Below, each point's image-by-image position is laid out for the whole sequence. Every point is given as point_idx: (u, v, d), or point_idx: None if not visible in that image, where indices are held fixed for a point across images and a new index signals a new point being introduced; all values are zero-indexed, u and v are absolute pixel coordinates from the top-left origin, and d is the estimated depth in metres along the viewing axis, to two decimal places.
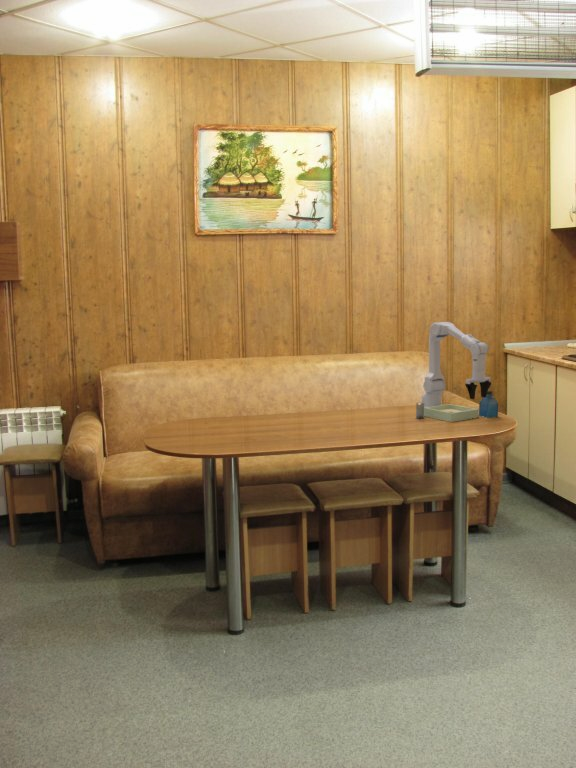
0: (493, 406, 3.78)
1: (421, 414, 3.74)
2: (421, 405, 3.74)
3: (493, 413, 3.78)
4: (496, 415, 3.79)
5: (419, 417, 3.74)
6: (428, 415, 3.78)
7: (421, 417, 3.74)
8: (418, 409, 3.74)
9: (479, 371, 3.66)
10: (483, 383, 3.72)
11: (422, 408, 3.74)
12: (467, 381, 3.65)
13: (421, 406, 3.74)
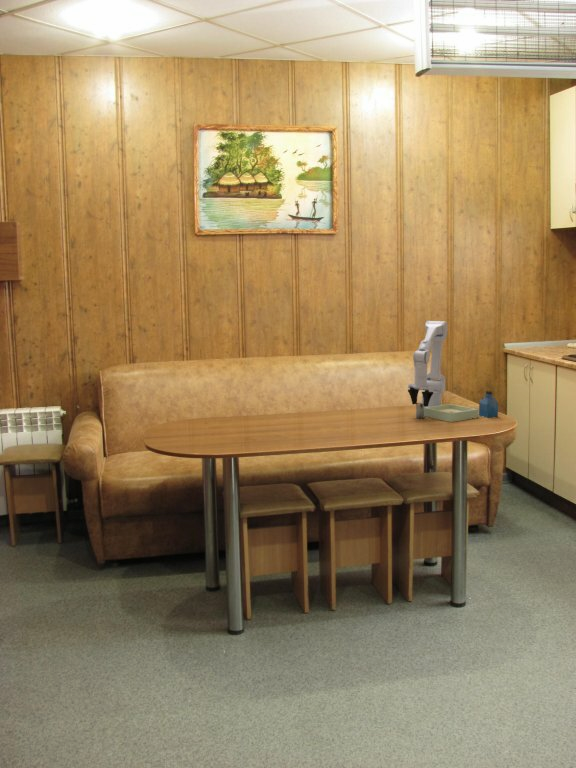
0: (493, 406, 3.78)
1: (421, 414, 3.74)
2: (421, 405, 3.74)
3: (493, 413, 3.78)
4: (496, 415, 3.79)
5: (419, 417, 3.74)
6: (428, 415, 3.78)
7: (421, 417, 3.74)
8: (418, 409, 3.74)
9: None
10: None
11: (422, 408, 3.74)
12: None
13: (421, 406, 3.74)
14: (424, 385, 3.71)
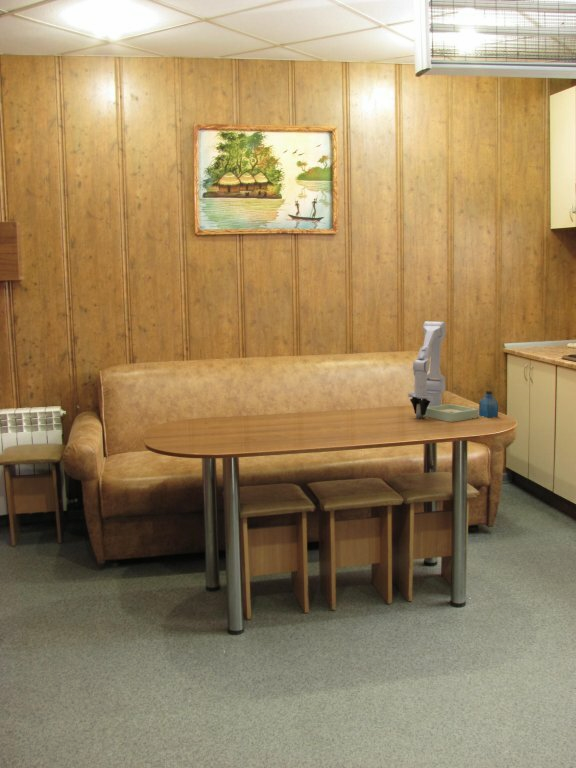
0: (493, 406, 3.78)
1: None
2: None
3: (493, 413, 3.78)
4: (496, 415, 3.79)
5: (419, 417, 3.74)
6: (428, 415, 3.78)
7: (421, 417, 3.74)
8: (418, 409, 3.74)
9: (414, 387, 3.74)
10: None
11: None
12: None
13: None
14: (424, 394, 3.72)
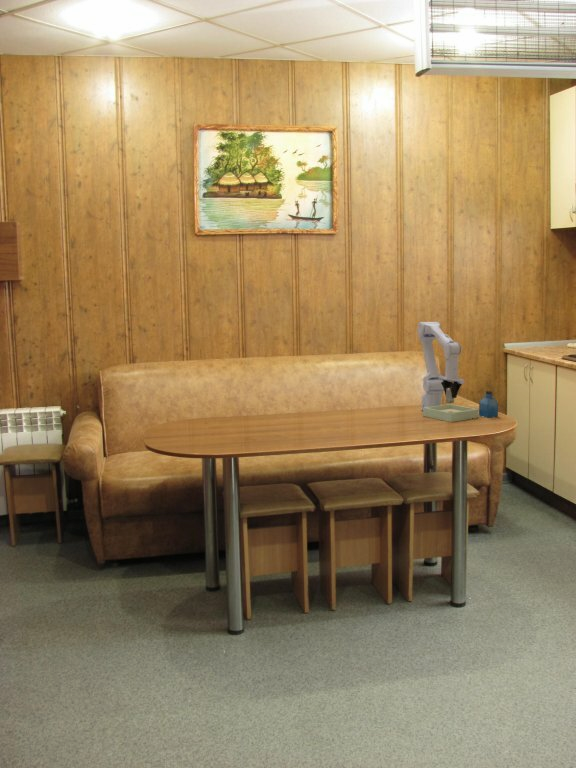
0: (493, 406, 3.78)
1: (450, 398, 3.76)
2: (450, 389, 3.75)
3: (493, 413, 3.78)
4: (496, 415, 3.79)
5: (449, 401, 3.76)
6: (428, 415, 3.78)
7: (451, 401, 3.76)
8: (447, 393, 3.76)
9: None
10: None
11: (451, 392, 3.75)
12: None
13: (450, 390, 3.75)
14: (455, 377, 3.74)
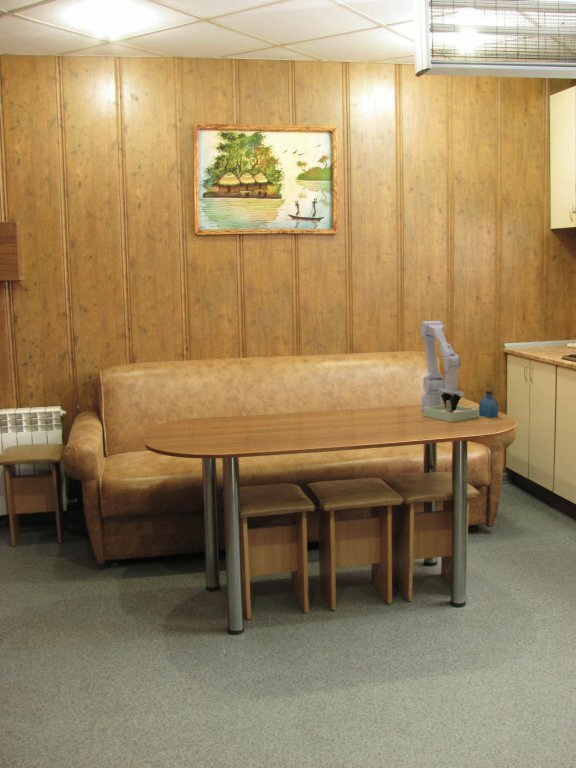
0: (493, 406, 3.78)
1: (450, 411, 3.77)
2: (450, 402, 3.76)
3: (493, 413, 3.78)
4: (496, 415, 3.79)
5: None
6: (428, 415, 3.78)
7: None
8: (447, 406, 3.77)
9: (445, 382, 3.77)
10: None
11: (451, 405, 3.76)
12: None
13: (450, 403, 3.76)
14: (455, 390, 3.75)
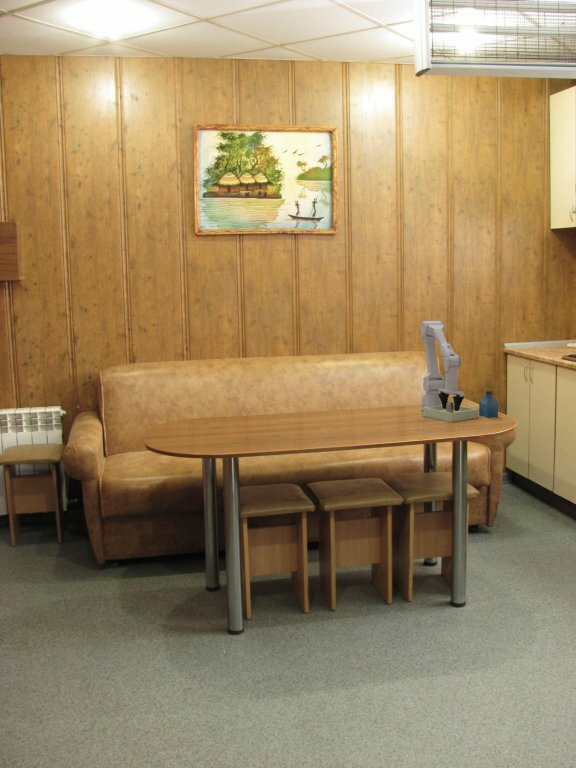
0: (493, 406, 3.78)
1: None
2: (450, 404, 3.76)
3: (493, 413, 3.78)
4: (496, 415, 3.79)
5: None
6: (428, 415, 3.78)
7: None
8: (447, 408, 3.77)
9: (445, 382, 3.77)
10: None
11: (451, 407, 3.77)
12: None
13: (450, 405, 3.76)
14: (455, 390, 3.75)
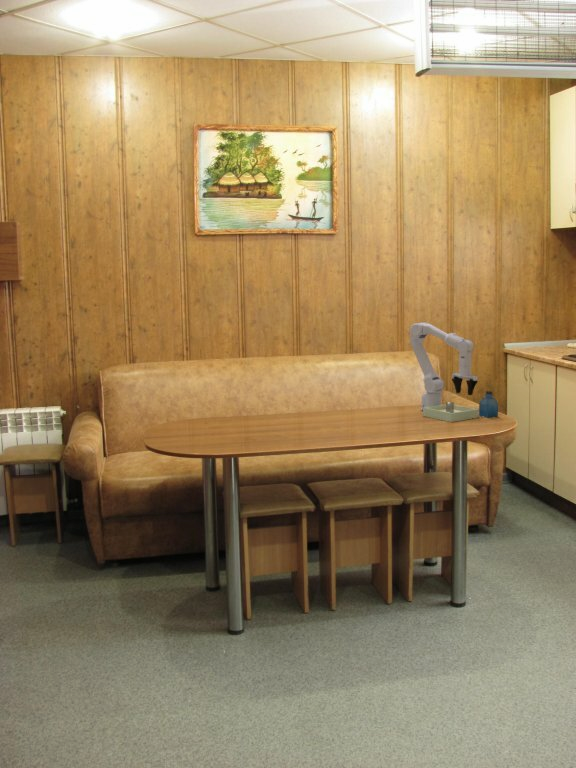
0: (493, 406, 3.78)
1: None
2: (450, 404, 3.76)
3: (493, 413, 3.78)
4: (496, 415, 3.79)
5: None
6: (428, 415, 3.78)
7: None
8: (447, 408, 3.77)
9: None
10: None
11: (451, 407, 3.77)
12: None
13: (450, 405, 3.76)
14: (468, 374, 3.80)
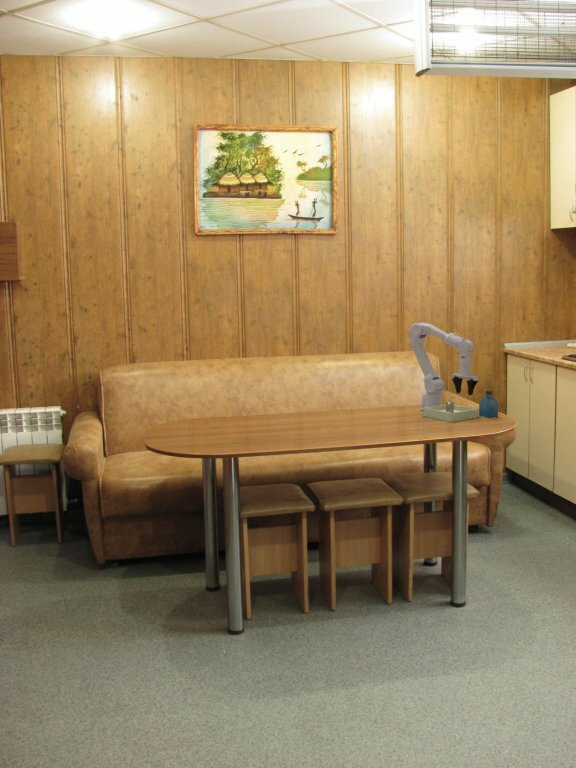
0: (493, 406, 3.78)
1: None
2: (450, 404, 3.76)
3: (493, 413, 3.78)
4: (496, 415, 3.79)
5: None
6: (428, 415, 3.78)
7: None
8: (447, 408, 3.77)
9: (459, 367, 3.83)
10: None
11: (451, 407, 3.77)
12: None
13: (450, 405, 3.76)
14: (468, 374, 3.80)
